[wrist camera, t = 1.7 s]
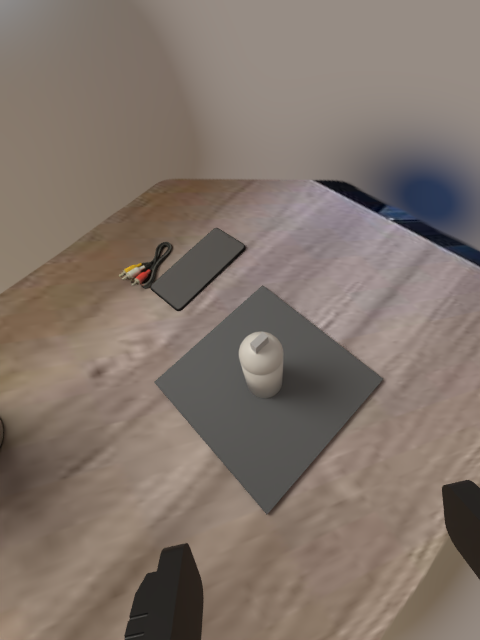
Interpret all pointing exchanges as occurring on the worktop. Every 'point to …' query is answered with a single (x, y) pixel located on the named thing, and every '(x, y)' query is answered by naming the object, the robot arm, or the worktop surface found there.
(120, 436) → the worktop surface
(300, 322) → the mat
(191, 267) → the smartphone
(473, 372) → the worktop surface
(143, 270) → the composite cable
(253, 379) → the white pump bottle
